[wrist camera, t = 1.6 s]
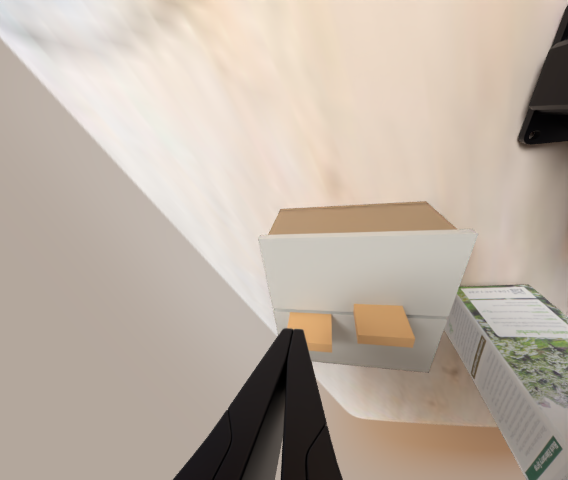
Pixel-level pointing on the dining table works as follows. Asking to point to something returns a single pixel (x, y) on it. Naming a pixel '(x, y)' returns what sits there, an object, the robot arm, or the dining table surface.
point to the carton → (360, 219)
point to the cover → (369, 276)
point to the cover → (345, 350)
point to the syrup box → (518, 370)
